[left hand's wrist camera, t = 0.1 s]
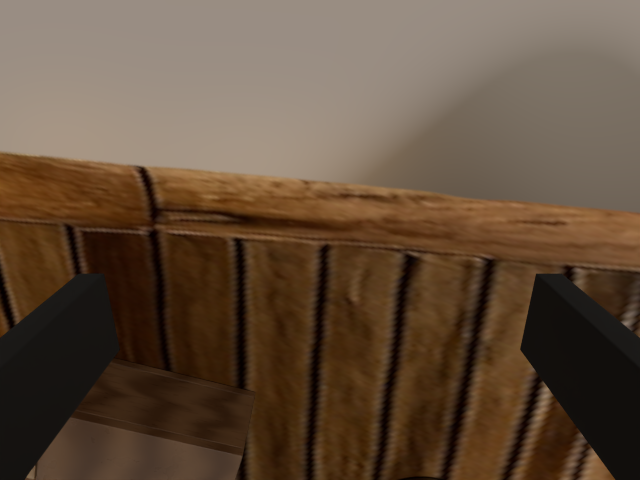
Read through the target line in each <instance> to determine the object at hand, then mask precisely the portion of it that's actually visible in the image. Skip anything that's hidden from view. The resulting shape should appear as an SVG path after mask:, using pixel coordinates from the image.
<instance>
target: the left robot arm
mask: <svg viewBox="0 0 640 480" xmlns="http://www.w3.org/2000/svg"><path fill="white" fill-rule="evenodd" d="M119 350H120V348H119V343H118V339H117V334H116V329H115V324H114V320H113V315H112V310H111V305H110V301H109V296H108V291H107V286H106V282H105V277H104V274H78V275H76V276H75V277H74V278H73V279H72V280H70V281H69V282H68V283H67V284H65V285H64V286H63V287H62V288H61V289H59V290H58V291H57V292H56V293H54V294H53V295H52V296H51V297H50V298H48V299H47V300H46V301H45V302H43V303H42V304H41V305H40V306H39V307H37V308H36V309H35V310H34V311H33V312H31V313H30V314H29V315H28V316H26V317H25V318H24V319H23V320H22V321H20V322H19V323H18V324H17V325H15V326H14V327H13V328H12V329H11V330H9V331H8V332H7V333H6V334H4V335H3V336H2V337H1V338H0V480H25V478H26V477H27V476H28V474H29V473H30V472H31V470H32V469H33V467H34V466H35V465H36V463H37V462H38V461H39V459H40V458H41V456H42V455H43V454H44V452H45V451H46V450H47V448H48V447H49V446H50V444H51V443H52V441H53V440H54V439H55V437H56V436H57V435H58V433H59V432H60V431H61V429H62V428H63V426H64V425H65V424H66V422H67V421H68V420H69V418H70V417H71V415H72V414H73V413H74V411H75V410H76V409H77V407H78V406H79V405H80V403H81V402H82V400H83V399H84V398H85V396H86V395H87V394H88V392H89V391H90V390H91V388H92V387H93V385H94V384H95V383H96V381H97V380H98V379H99V377H100V376H101V375H102V373H103V372H104V370H105V369H106V368H107V366H108V365H109V364H110V362H111V361H112V359H113V358H114V357H115V355H116V354H117V353H118V351H119ZM520 350H521V351H522V353H523V354H524V355H525V357H526V358H527V359H528V361H529V362H530V364H531V365H532V366H533V368H534V369H535V370H536V372H537V373H538V375H539V376H540V377H541V379H542V380H543V381H544V383H545V384H546V385H547V387H548V388H549V390H550V391H551V392H552V394H553V395H554V396H555V398H556V399H557V400H558V402H559V403H560V405H561V406H562V407H563V409H564V410H565V411H566V413H567V414H568V415H569V417H570V418H571V420H572V421H573V422H574V424H575V425H576V426H577V428H578V429H579V431H580V432H581V433H582V435H583V436H584V437H585V439H586V440H587V441H588V443H589V444H590V446H591V447H592V448H593V450H594V451H595V452H596V454H597V455H598V456H599V458H600V459H601V461H602V462H603V463H604V465H605V466H606V467H607V469H608V470H609V472H610V473H611V474H612V476H613V477H614V478H615V480H640V338H639V337H638V336H637V335H636V334H634V333H633V332H632V331H631V330H629V329H628V328H627V327H626V326H625V325H623V324H622V323H621V322H620V321H618V320H617V319H616V318H615V317H614V316H612V315H611V314H610V313H609V312H607V311H606V310H605V309H604V308H603V307H601V306H600V305H599V304H598V303H597V302H595V301H594V300H593V299H592V298H590V297H589V296H588V295H587V294H586V293H584V292H583V291H582V290H581V289H579V288H578V287H577V286H576V285H575V284H573V283H572V282H571V281H570V280H568V279H567V278H566V277H565V276H564V275H562V274H536V277H535V282H534V286H533V291H532V296H531V301H530V305H529V310H528V315H527V320H526V324H525V329H524V334H523V339H522V343H521V348H520ZM406 480H439V479H433V478H412V479H406Z"/></svg>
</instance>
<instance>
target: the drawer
mask: <svg viewBox="0 0 640 480" xmlns="http://www.w3.org/2000/svg"><path fill="white" fill-rule="evenodd" d="M37 466H38V462H37V463H36V465H35V466H34V467H33V469H32V470H31V472H30V473H29V474H28V476H27V477H26V478H30V479H35V478H36V476H37Z"/></svg>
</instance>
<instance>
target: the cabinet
mask: <svg viewBox="0 0 640 480" xmlns="http://www.w3.org/2000/svg"><path fill="white" fill-rule="evenodd" d="M254 398H255V392H252V391H248V390H244V389H240V388H236V387H231V386H227V385H223V384H219V383H215V382H211V381H207V380H203V379H198V378H194V377H190V376H186V375H182V374H178V373H174V372H170V371H165V370H161V369H157V368H153V367H149V366H145V365H141V364H137V363H132V362H128V361H124V360H120V359H116V358H113V359H112V361H111V362H110V364H109V365H108V366H107V368H106V369H105V370H104V372H103V373H102V375H101V376H100V377H99V379H98V380H97V381H96V383H95V384H94V385H93V387H92V388H91V390H90V391H89V392H88V394H87V395H86V396H85V398H84V399H83V400H82V402H81V403H80V405H79V406H78V407H77V409H76V410H75V411H74V413H73V414H72V415H71V417H70V418H69V420H68V421H67V422H66V424H65V425H64V426H63V428H62V429H61V431H60V432H59V433H58V435H57V436H56V437H55V439H54V440H53V441H52V443H51V444H50V446H49V447H48V448H47V450H46V451H45V452H44V454H43V455H42V456H41V458H40V459H39V461H38V466H37V478H36V480H235V478H236V475H237V472H238V469H239V466H240V463H241V459H242V456H243V452H244V447H245V442H246V437H247V432H248V427H249V422H250V417H251V412H252V407H253V403H254Z"/></svg>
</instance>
